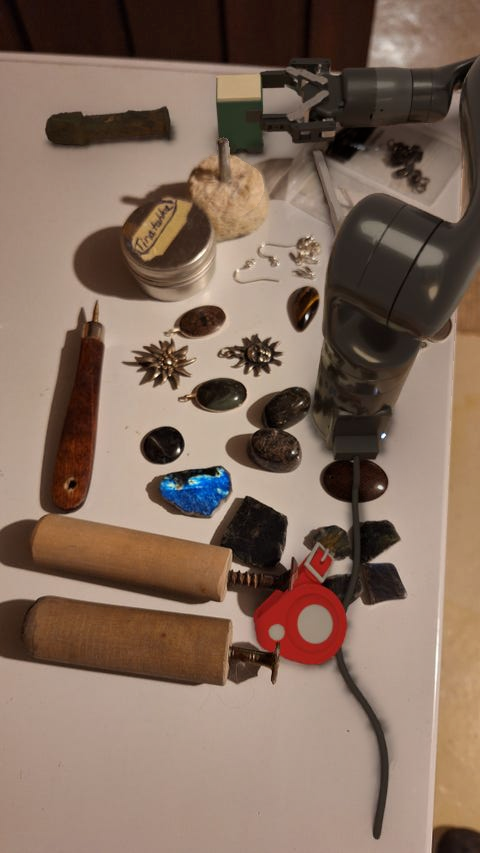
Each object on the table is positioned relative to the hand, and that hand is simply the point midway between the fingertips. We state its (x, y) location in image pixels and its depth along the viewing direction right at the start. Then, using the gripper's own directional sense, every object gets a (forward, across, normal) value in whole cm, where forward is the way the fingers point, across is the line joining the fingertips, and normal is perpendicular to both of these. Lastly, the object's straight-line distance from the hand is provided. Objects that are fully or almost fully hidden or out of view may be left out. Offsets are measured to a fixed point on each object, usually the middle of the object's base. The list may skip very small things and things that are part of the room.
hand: (259, 101), depth 90 cm
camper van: (+3, 0, +7) cm, 8 cm away
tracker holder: (-4, +69, +7) cm, 70 cm away
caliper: (-10, +13, +7) cm, 18 cm away
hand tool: (+23, -1, +7) cm, 24 cm away
